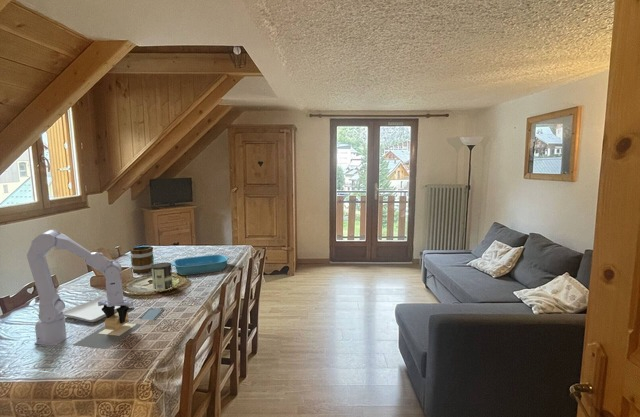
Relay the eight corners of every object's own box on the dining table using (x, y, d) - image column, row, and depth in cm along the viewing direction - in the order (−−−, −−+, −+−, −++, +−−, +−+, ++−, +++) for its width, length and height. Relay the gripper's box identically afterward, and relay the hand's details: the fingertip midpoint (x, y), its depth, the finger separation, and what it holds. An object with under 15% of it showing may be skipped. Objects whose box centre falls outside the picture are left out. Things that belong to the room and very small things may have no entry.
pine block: (119, 320, 148) (118, 311, 147) (128, 321, 147) (128, 312, 147) (105, 329, 140) (104, 320, 139) (115, 330, 139) (114, 320, 139)
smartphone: (134, 323, 149) (148, 308, 164) (134, 325, 149) (148, 310, 164) (152, 322, 149) (164, 308, 164) (152, 324, 150) (164, 309, 164)
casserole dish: (225, 261, 244) (225, 252, 243) (233, 270, 224) (232, 260, 223) (170, 269, 227) (169, 259, 226) (172, 279, 207) (172, 268, 207)
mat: (72, 346, 131) (72, 344, 131) (112, 322, 150) (112, 321, 150) (106, 349, 128) (106, 348, 128) (142, 325, 148) (142, 324, 148)
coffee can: (170, 284, 198) (169, 261, 196) (174, 290, 189) (173, 265, 187) (151, 288, 192) (149, 264, 190) (154, 293, 184) (152, 268, 182)
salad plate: (59, 319, 154) (58, 312, 154) (103, 301, 174) (102, 295, 174) (92, 327, 147) (91, 319, 146) (134, 307, 167) (133, 301, 166)
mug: (153, 272, 220) (151, 249, 219) (129, 274, 216) (128, 251, 214) (156, 263, 239) (154, 243, 237) (134, 266, 234) (133, 244, 232)
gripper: (91, 294, 138) (94, 325, 140) (124, 295, 137) (126, 327, 139) (104, 288, 145) (106, 318, 147) (135, 289, 144) (137, 319, 146)
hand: (117, 322), depth 143 cm, fingers closed on pine block, 4 cm apart
